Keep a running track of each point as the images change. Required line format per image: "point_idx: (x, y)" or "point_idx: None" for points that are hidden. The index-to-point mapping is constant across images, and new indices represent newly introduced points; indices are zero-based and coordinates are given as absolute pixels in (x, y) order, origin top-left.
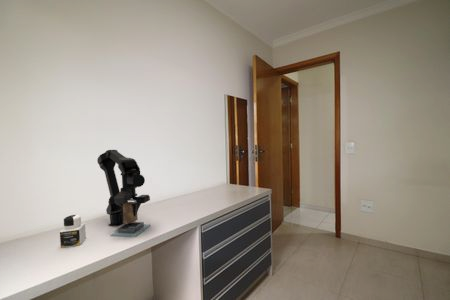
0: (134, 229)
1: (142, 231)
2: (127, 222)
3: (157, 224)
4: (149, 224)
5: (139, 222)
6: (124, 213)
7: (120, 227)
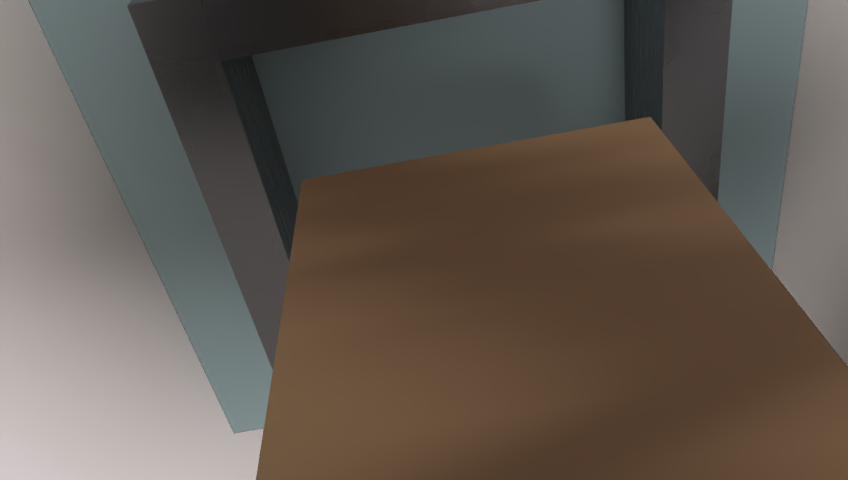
0: (146, 27)
1: (113, 157)
2: (495, 151)
3: (144, 475)
4: (246, 427)
5: None
6: (764, 390)
7: (703, 3)
